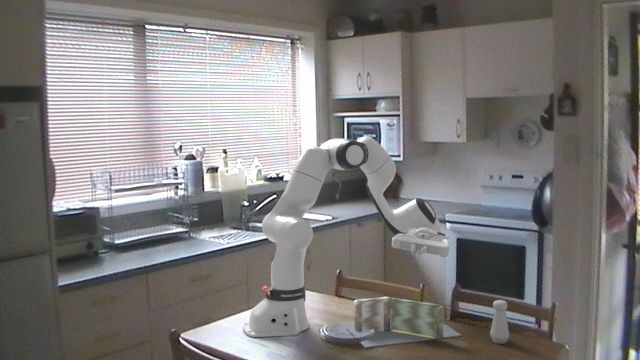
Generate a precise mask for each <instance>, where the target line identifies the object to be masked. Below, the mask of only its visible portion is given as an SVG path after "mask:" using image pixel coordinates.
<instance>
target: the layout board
mask: <svg viewBox="0 0 640 360" xmlns="http://www.w3.org/2000/svg"><path fill="white" fill-rule="evenodd" d="M457 337H458V338H459V337H462V334H461V333H459V332H457V331H456V330H455V329H454V328H451V327H450V326H448V325H447V324H445V323H443V339H446V338H447V339H449V338H457ZM432 340H433V341H434V340H439V339H438V338H436V337H430V336H424V335H419V334H413V333H407V332H402V331H396V330H390V331H379V332H375V334H374V335H373V337H372V338H370V339H368V340H365V341H362V342H359V344H361V345H362V346H363V347H364V348H365V349H369V348H370V349H371V348H377V347H378V348H379V347H386V346H392V345H400V344H409V343H416V342H418V343H419V342H426V341H432Z"/></svg>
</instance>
